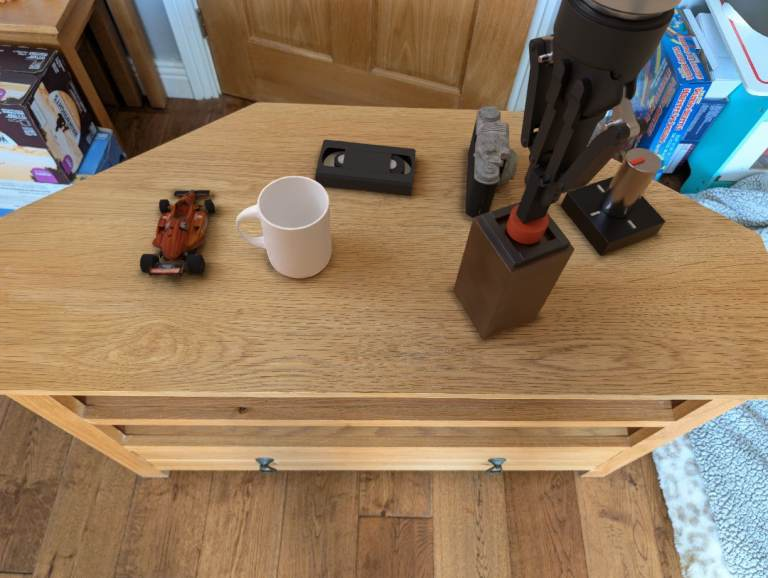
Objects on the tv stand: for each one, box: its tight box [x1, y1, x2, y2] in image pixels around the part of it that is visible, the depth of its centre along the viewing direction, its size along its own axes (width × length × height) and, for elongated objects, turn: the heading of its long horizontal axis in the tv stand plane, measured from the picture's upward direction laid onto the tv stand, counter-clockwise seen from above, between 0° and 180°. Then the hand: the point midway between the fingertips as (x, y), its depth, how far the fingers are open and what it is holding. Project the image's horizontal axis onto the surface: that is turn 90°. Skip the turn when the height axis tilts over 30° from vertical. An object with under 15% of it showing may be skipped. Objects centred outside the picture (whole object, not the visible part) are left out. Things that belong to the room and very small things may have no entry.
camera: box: [464, 105, 519, 219], centre depth 80 cm, size 15×7×10 cm, turn 173°
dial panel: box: [560, 175, 667, 257], centre depth 80 cm, size 10×10×3 cm
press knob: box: [506, 205, 549, 244], centre depth 59 cm, size 4×4×2 cm
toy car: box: [139, 189, 217, 277], centre depth 75 cm, size 8×16×4 cm, turn 0°
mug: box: [235, 175, 333, 279], centre depth 71 cm, size 9×12×11 cm
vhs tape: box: [314, 139, 417, 197], centre depth 84 cm, size 14×8×2 cm, turn 84°
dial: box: [601, 147, 662, 218], centre depth 75 cm, size 4×4×9 cm
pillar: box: [452, 201, 575, 341], centre depth 66 cm, size 8×8×16 cm
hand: (530, 215), depth 58 cm, fingers closed
